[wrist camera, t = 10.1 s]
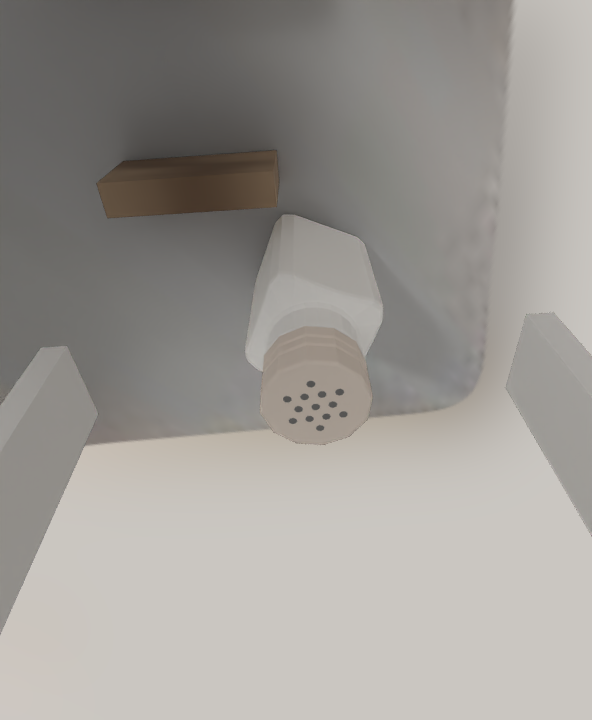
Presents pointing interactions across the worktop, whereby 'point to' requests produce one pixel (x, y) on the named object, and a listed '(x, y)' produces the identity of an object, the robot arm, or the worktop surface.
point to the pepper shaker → (313, 331)
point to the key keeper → (191, 184)
